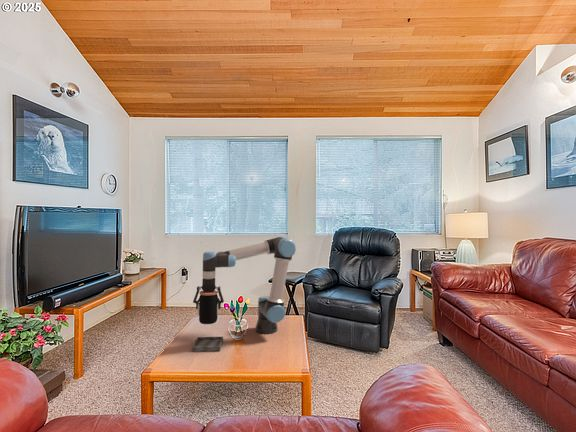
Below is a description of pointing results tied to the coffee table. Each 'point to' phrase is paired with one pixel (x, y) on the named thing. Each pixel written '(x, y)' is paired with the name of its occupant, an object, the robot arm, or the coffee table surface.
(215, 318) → the coffee jar
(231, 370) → the coffee table surface
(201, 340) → the jar stand
